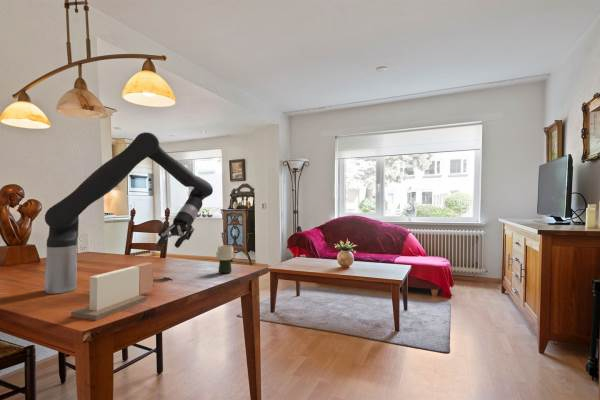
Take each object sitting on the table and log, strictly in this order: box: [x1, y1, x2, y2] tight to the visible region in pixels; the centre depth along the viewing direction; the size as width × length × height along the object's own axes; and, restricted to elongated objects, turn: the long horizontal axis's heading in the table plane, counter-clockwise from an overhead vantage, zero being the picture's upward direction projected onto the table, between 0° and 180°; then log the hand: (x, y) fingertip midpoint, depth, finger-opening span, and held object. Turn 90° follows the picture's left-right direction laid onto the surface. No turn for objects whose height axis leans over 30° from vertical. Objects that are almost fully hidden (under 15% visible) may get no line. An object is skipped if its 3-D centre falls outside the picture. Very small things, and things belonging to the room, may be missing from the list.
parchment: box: [153, 277, 174, 286], centre depth 125 cm, size 25×10×1 cm, turn 150°
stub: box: [134, 262, 154, 295], centre depth 111 cm, size 3×6×10 cm, turn 163°
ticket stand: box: [70, 265, 148, 322], centre depth 98 cm, size 10×19×12 cm, turn 163°
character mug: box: [215, 244, 235, 274], centre depth 148 cm, size 11×7×13 cm, turn 147°
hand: (167, 246), depth 122 cm, fingers open, 8 cm apart
